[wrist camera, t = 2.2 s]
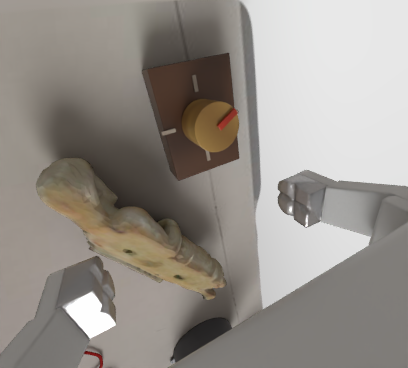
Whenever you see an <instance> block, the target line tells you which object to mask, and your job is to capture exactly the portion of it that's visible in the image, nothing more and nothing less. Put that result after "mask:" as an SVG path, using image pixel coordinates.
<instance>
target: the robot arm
mask: <svg viewBox="0 0 408 368" xmlns="http://www.w3.org/2000/svg"><path fill="white" fill-rule="evenodd" d="M278 190H279V191H280V194H279V196H278V204H279V206H280V208H281V210H282V211H283V212H284V213H286V214H287V215H291V216H294V220H296V221H297V222H298V223H300V224H301V225H303V226H304V227H306V228H307V227H309V226H311V225H313V224H316V223H318V222H320V221H321V222H323V223H327V224H330V225H333V226H337V227H340V228H343V229H347V230H350V231H353V232H357V233H360V234H363V235H367V236H370V237H371V239H370V242H369V246H367V247H366V248H364V249H362V250H361V251H359V252H357V253H356V254H354V255H352V256H351V257H349V258H347V259H346V260H344V261H343V262H341V263H339V264H338V265H336V266H334V267H333V268H331V269H329V270H328V271H326V272H324V273H323V274H321V275H319V276H318V277H316V278H314V279H313V280H311V281H310V282H308V283H306V284H305V285H303V286H301V287H300V288H298V289H296V290H295V291H293V292H291V293H290V294H288V295H287V296H285V297H283V298H282V299H280V300H279V301H277V302H275V303H273V304H272V305H270V306H268V307H267V308H265V309H263V310H262V311H260V312H259V313H257V314H255V315H254V316H252V317H250V318H249V319H247V320H245V321H244V322H242V323H240V324H239V325H237V326H236V327H234V328H232V329H231V330H229V331H227V332H226V333H224V334H222V335H221V336H219V337H217V338H216V339H214V340H212V341H211V342H209V343H208V344H206V345H204V346H203V347H201V348H199V349H198V350H196V351H194V352H193V353H191V354H189V355H188V356H186V357H185V358H183V359H181V360H180V361H178V362H176V363H175V364H173V365H171V366H170V367H168V368H408V187H406V186H397V185H384V184H373V183H361V182H348V181H338V182H337V181H334V180H332V179H329V178H327V177H324V176H321V175H319V174H317V173H314V172H311V171H309V170H305V171H302V172H300V173H298V174H296V175H294V176H291V177H289V178H287V179H284V180H282V181H280V182H279V184H278ZM114 297H115V288H114V284H113V280H112V278H111V275H110V274H109V272H108V271H106V270H103V262H102V261H101V259H100V258H99V257H98V256H95V257H92V258H90V259H87V260H85V261H82V262H79V263H77V264H74V265H72V266H69V267H67V268H64V269H62V270H59V271H57V272H54V273H52V274H50V275H49V276H48V278H47V281H46V284H45V287H44V290H43V293H42V296H41V299H40V302H39V305H38V309H37V312H36V315H35V318H34V319H33V320H31V321H29V322H28V323H27V324H26V325H25V326H24V327H23V329H22V330H21V331H20V332H19V333H18V334H17V335H16V337H15V338H14V339H13V340H12V341H11V342H10V344H9V345H8V346H7V347H6V348H5V349H4V351H3V352H2V353H1V354H0V368H77V367H78V365H79V363H80V361H81V358H82V356H83V354H84V352H85V350H86V348H87V346H88V343H89V341H90V340H89V339H90V338H92V337H94V336H96V335H98V334H100V333H102V332H103V331H105V330H107V329H109V328H111V327H113V326H114V325H116V309H115V305H114V304H113V302H112V300H113V298H114Z"/></svg>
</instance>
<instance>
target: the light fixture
mask: <svg viewBox="0 0 408 368" xmlns="http://www.w3.org/2000/svg"><path fill="white" fill-rule="evenodd" d="M231 329H232V327H231V325H230V323H229V321H228V320H226V319H223V318H215V319H211V320H208V321H205V322H203V323H201V324H199V325H197V326H196V327H194V328H193V329H191V330H190V331H189V332H188V333H186V334H185V335H184V336H183V337H182V338H181V340H180V341H179V342H178V344H177V345H176V347H175V350H174V353H173V356H174V358H173V359H172V360H171V361H170V362H171V363H175V362H178V361H180V360H181V359H183V358H185V357H186V356H188V355H189V354H191V353H193V352H194V351H196V350H198V349H199V348H201V347H203V346H204V345H206V344H208V343H209V342H211V341H212V340H214V339H216V338H217V337H219V336H221V335H222V334H224V333H226V332H227V331H229V330H231Z"/></svg>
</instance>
